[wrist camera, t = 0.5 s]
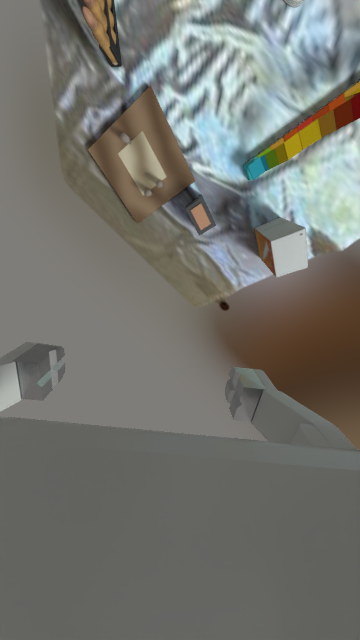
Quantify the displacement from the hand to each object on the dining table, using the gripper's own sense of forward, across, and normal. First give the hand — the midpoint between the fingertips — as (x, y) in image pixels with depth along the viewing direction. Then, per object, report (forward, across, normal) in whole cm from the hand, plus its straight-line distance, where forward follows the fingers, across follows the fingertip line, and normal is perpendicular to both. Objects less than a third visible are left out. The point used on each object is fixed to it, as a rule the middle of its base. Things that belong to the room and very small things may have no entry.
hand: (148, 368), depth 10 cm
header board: (+43, +9, -21) cm, 48 cm away
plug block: (+44, -5, -14) cm, 47 cm away
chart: (+39, -24, -33) cm, 56 cm away
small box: (+44, -23, -12) cm, 51 cm away
